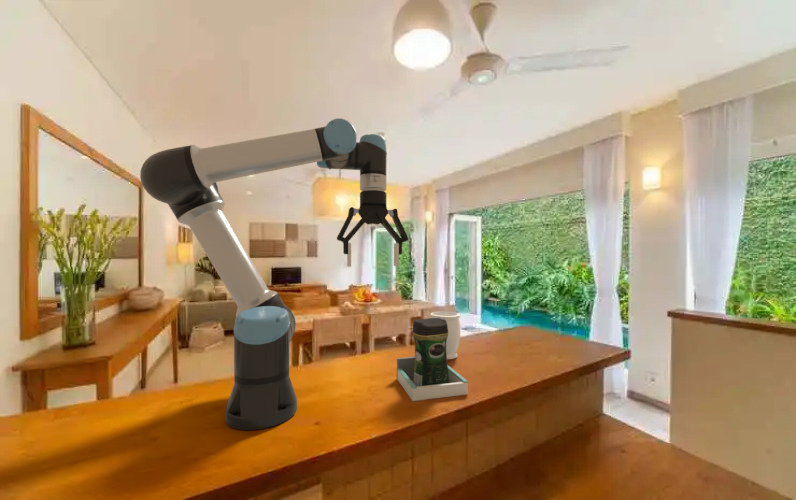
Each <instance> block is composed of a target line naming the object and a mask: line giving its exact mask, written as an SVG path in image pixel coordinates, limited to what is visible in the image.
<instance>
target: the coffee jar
mask: <svg viewBox="0 0 796 500" xmlns="http://www.w3.org/2000/svg"><path fill="white" fill-rule="evenodd" d="M411 333H412V336H413V339H414V357H415V359H414V369H413V379H412V382H413V383H414V384H415V386H416V387H419V386H428V385H437V384H446V383H450V381H449V374H448V366H449V365H448V359H447V355H446V341H447V337H448V327H447V322H446V320H444V319H441V318H432V317H428V318H422V319H421V318H420V319H415V320H414V321H413V324H412V332H411ZM447 365H448V366H447Z"/></svg>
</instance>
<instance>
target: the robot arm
mask: <svg viewBox="0 0 796 500" xmlns="http://www.w3.org/2000/svg"><path fill="white" fill-rule="evenodd" d="M357 136H358V135H357V130H356V129H355V127H354V125H353V124H352V123H351V122H350V121H349V120H347V119H343V118H334V119H331V120H330V121H328V122H327V124H326V125H325V126H321V127H320V126H319V127H315V128H312V129H306V130H301V131H299V130H298V131H294V132H289V133H282V134H278V135H271V136H266V137H260V138H254V139H249V140H244V141H243V140H242V141H238V142H231V143H225V144H220V145H219V144H218V145H214V146H207V147H204V148H203V147H202V148H201V147H199V146H197V145H195V144H191V145H185V146H184V145H183V146H179V147H173V148H168V149H165V150H160V151H158V152H155V153H154V154H151V155H150V156H149V157H148V158H147V159H145V161H144V162H143V164H142V166H141V168H140V171H139V172H140V178H139V179H140V181H141V185H142V186H143V188H144V190H145V191H146V192H147V194H148V195H150V196H151V197H152V198H153V199H155V200H157V201H158V202H161V203H164V204H166V205H168V207H169V209H170V210H171V211H172V214H173V215H174V217H175V219H176V220H177V221H178V223H180V224H182V225H186V226H188V227H189V229H190V230H191V231H192V233H193V235H194V236H195V238H196V240H197V242H198V243H199V245H200V246H201V248H202V249H203V252H204V253H205V255H206V256H207V258H208V260H209V262H210V263H211V265H212V267H214V270H215V271H216V273H217V275H218V276H219V278H220V281H222V283H223V285H224V286H225V288H226V289H227V291H228V293H229V294H230V296H231V298H232V299H233V301H234V302H235V304H236V306H237V309H236V312H235V313H236V314H235V319H234V325H233V335H234V336H233V338H234V339H233V340H234V345H233V346H234V347H233V348H234V349H233V350H234V352H233V353H234V355H233V356H234V358H233V359H234V362H233V363H234V364H233V365H234V366H233V368H234V369H233V373H234V374H233V376H234V377H233V380H234V382H233V386H232V390H231V393H230V395H229V398H228V400H227V404H226V408H225V412H224V413H225V418H224V419H225V421H224V422H225V424H226V425H227V426H229V427H230V428H233V429H235V430H241V431H252V430H254V431H255V430H263V429H268V428H271V427H274V426H278V425H280V424H283V423H284V422H286V421H288V420H290V419H291V418H292V417H293V416H295V414H296V412H297V410H298V397H297V395H296V391H295V388H294V387H293V383H292V380H291V377H290V343H291V341H292V337H294V334H295V332H296V327H297V326H296V317H295V315H294V313H293V311H292V310H291V308H289V307H288V306H287V305H285V303H284V301H283V299H282V298H281V296H280V295H279V293H278V292H277V291H274V290H271V289H269V288H268V285H267V284H266V283H265V281H264V279H263V278H262V277H263V276H261V274H260V272H259V270H258V269H257V266H255V263H254V262H253V260H252V259H251V257H250V256H249V254H248V252H247V249H246V248H245V247H244V245H243V244H242V241H241V240H240V238H239V237H238V234H237V233H236V232H235V230H234V229H233V226H232V225H231V223H230V222H229V220H228V218H227V216H226V215H225V212H224V208H225V205H226V202H225V201H224V198H223V197H222V196H221V194H220V193H219V186H218V184H217V183H219V182H223V181H228V180H233V179H238V178H243V177H244V178H245V177H249V176H252V175H253V176H254V175H257V174H258V175H259V174H263V173H267V172H273V171H277V170H282V169H288V168H294V167H298V166H303V165H307V164H313V163H314V164H315V163H316V165H317V167H318V168H321V169H328V170H352V171H353V170H355V171H359V190H360V192H359V208H354V207H353V206H352V207H351V206H350V207H349V208H348V212H347V213H348V214H347V217H346V219H345V221H344V222H343V225H342V227H341V229H340V230H339V233H338V235H336V236H337V237H336V240H337V241H339V242H342V244H343V249H342V250H343V255H346V256H347V257H346V261H347V262H346V265H347V266H346V267H348V268H349V267H350V268H352V242H349V241H351V239H352V238H353V237H354V236H355V235H356V233H357V232H358V231H359V230H360V229H361V228H362V226H363V225H364V224H366V225H380V224H381V226H383V227H384V230H386V231H387V232H388V234H389V235H390V237H392V239H394V241H395V242H396V243H393V266H394V267H399V266H400V264H399V263H400V259H399V258H400V257H399V256H400V255H402V254H403V243H405V242H407V241H408V240H409V237H408V235H407V232H406V230H405V229H404V226H403V224H402V222H401V219H400V217H399V211H398V208H393V209H388V207H387V192H386V190H387V155H388V153H387V152H388V151H387V140H386V138H385V137H384V136H382V135H380V134H375V133H371V134H363V135H362V136H361V137H360V138H359V142H357V140H358V139H357V138H358V137H357ZM357 214H358V215H359V216H360V218H361V219H360V220H359V221H358V222H357V223H356V225H354V227H353V228H352V229H351V230H350V231H349V233H348V234H347V235H346V236H345V233H346V231H347V230H348V228H349V225H350V224H351V222H352V220H353V217H355V216H356V215H357ZM387 216H389V217H390V218H392V221H393V223H394V226H395V227H396V230H397V231H398V232H397V231H396V230H395V229H394V228H393V227H392V225H391V224H390V222H389V221H388V220H387V219H386V217H387ZM344 236H345V237H344Z"/></svg>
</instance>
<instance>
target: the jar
mask: <svg viewBox="0 0 796 500" xmlns="http://www.w3.org/2000/svg"><path fill="white" fill-rule="evenodd" d="M429 315H430V318H441V319H444V320H446V322H447V327H448V337H447V341H446V355H447V360H455V359H456V358H457V357H458V353H457V351H458V350H459V345H460V339H461V323H460V320H459V319H460V318H461V314H460V313H459V312H454V311H433V312H431V313H430V314H429Z"/></svg>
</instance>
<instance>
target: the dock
mask: <svg viewBox="0 0 796 500" xmlns="http://www.w3.org/2000/svg"><path fill="white" fill-rule="evenodd" d="M414 359H415V356H408V357H407V356H406V357H397V358H396V380H397V381H398V382H399V384H400V385H401V387H402V389H404V391H405V392H406V394H407V395H408V397H409V398H410V400H411V401H412V402H415V401H424V400H433V399H440V398H449V397H455V396H456V397H457V396H458V397H459V396H464V395H468V394H469V381H468V380H467V379H466V378H465V377H463V375H461V374H460V373H458V372H457V371H456V370H455V369H454V368H452V367H451V366H450V365H448V364H447V366H448V374H449V383H446V384H437V385H428V386H419V387H416V386H415V384H414V383H413V369H414Z"/></svg>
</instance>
